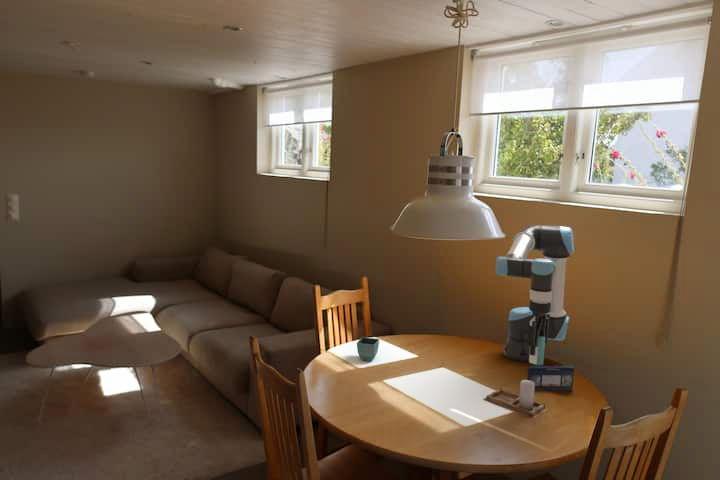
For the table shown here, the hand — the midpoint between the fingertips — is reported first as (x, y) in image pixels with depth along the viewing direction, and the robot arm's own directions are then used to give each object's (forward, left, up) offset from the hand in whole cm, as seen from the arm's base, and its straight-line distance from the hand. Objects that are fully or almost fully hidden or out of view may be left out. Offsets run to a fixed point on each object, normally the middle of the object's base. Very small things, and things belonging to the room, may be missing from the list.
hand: (536, 360), depth 194 cm
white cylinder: (+5, 0, -17) cm, 18 cm away
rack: (+5, -5, -19) cm, 20 cm away
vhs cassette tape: (-19, -3, -19) cm, 27 cm away
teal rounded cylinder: (0, 0, -1) cm, 1 cm away
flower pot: (+13, -77, -19) cm, 80 cm away
